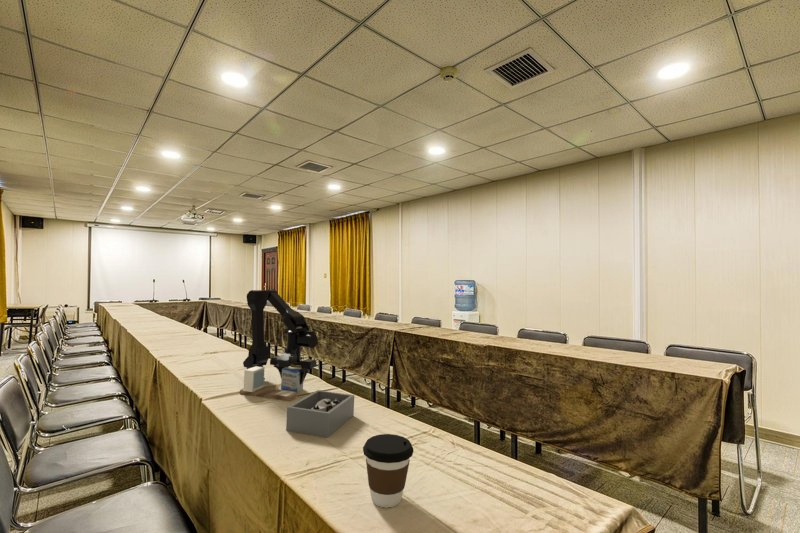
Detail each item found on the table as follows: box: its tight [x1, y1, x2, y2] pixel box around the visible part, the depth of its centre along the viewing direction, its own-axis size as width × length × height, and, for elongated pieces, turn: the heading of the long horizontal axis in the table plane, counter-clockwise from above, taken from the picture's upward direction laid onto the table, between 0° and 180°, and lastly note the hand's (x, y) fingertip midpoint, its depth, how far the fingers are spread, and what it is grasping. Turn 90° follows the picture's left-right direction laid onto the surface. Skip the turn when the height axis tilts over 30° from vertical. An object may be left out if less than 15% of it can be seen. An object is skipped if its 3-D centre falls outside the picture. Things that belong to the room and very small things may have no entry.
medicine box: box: [280, 366, 304, 392], centre depth 157 cm, size 8×4×9 cm, turn 73°
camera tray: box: [285, 389, 355, 438], centre depth 123 cm, size 14×19×7 cm
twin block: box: [243, 366, 266, 392], centre depth 150 cm, size 4×7×8 cm, turn 164°
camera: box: [311, 399, 343, 412], centre depth 122 cm, size 13×8×9 cm, turn 144°
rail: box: [239, 387, 299, 402], centre depth 148 cm, size 22×6×2 cm, turn 74°
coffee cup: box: [362, 433, 414, 509], centre depth 82 cm, size 11×11×12 cm
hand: (292, 383), depth 157 cm, fingers closed on medicine box, 8 cm apart
